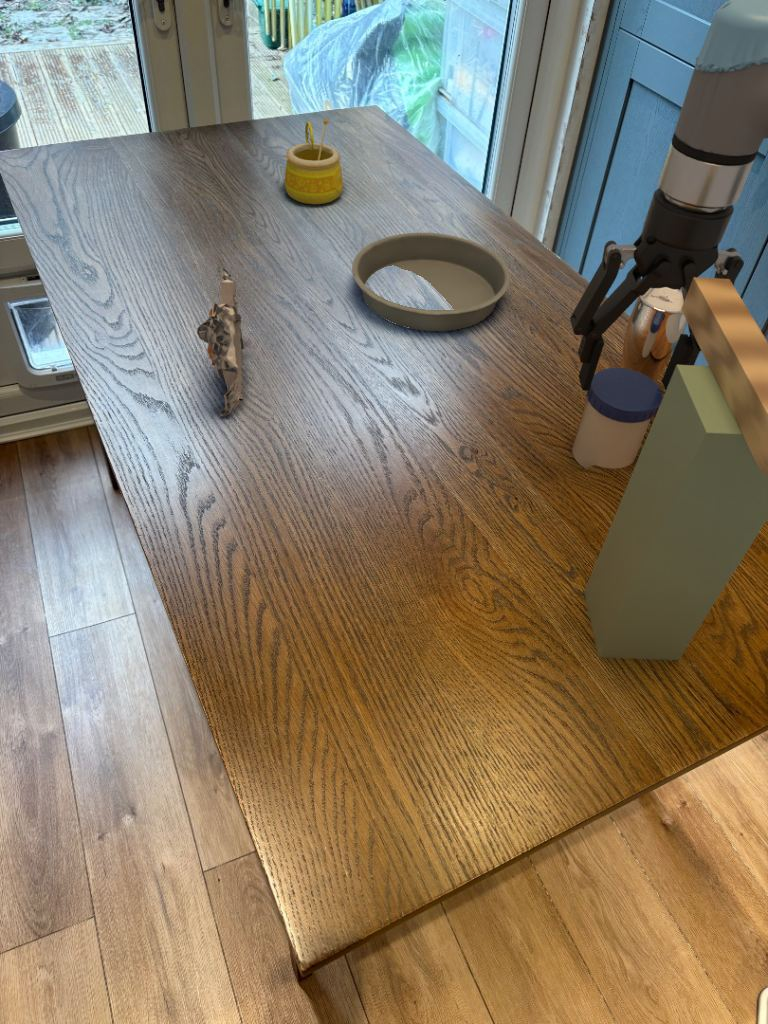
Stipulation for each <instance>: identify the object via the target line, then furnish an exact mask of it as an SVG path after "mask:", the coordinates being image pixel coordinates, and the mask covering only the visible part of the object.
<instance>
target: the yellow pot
mask: <svg viewBox="0 0 768 1024" xmlns="http://www.w3.org/2000/svg"><path fill="white" fill-rule="evenodd" d="M328 123H329V120H328V118H324V119H323V130H322V135H321V141H320V143H319V142H315V138H314V132H313V127H312V123H311V122H310V121H306V122H305V125H304V126H305V128H304V135H305V136H304V137H305V143H304V142H303V143H299V144H297V145H294V146H292V147H290V149H288V150H287V151H286V155H285V156H286V163H285V174H284V188H285V191H286V193H287V194H288V196H289V197H290V198H291V199H293V200H295V201H296V202H297V203H298V202H299V203H303V204H306V205H321V204H323V205H324V204H327V203H328V204H329V203H331V202H333V201H335V200H336V199H338V198H339V197H340V195H341V193H342V191H343V186H344V183H343V181H344V179H343V172H342V171H343V170H342V166H341V162H340V160H341V155H340V153H339V151H337V149H336V148H334V147H332V146H330V145H327V144H323V143H324V137H325V134H326V133H325V132H326V128H327V124H328Z"/></svg>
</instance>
